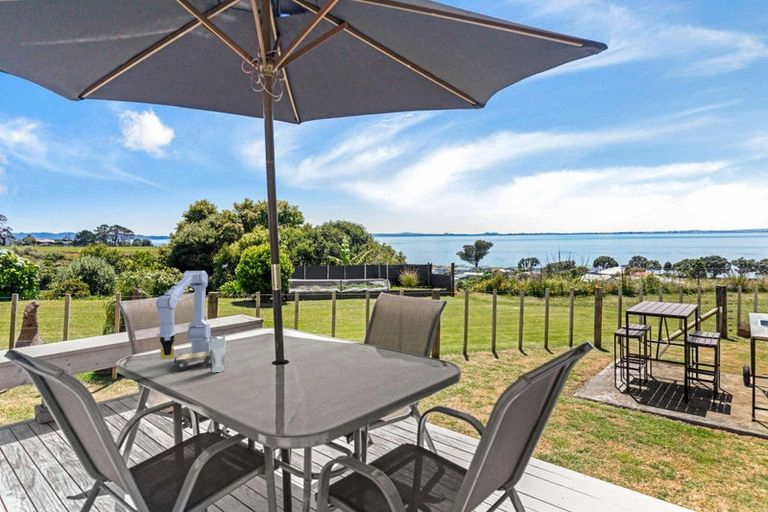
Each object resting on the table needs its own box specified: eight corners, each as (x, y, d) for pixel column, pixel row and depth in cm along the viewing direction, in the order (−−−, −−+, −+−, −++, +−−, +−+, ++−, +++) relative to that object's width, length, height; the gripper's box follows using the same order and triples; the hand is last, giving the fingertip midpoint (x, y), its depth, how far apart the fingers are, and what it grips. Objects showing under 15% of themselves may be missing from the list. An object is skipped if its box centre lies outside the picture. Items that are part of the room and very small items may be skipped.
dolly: (213, 360, 192) (213, 340, 192) (216, 366, 181) (216, 345, 181) (174, 365, 183) (174, 344, 183) (175, 372, 173) (174, 350, 173)
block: (173, 355, 175) (173, 345, 175) (173, 357, 172) (173, 347, 172) (160, 357, 173) (160, 347, 173) (160, 359, 169) (160, 349, 169)
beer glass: (205, 372, 172) (205, 338, 172) (219, 368, 178) (218, 335, 178) (216, 374, 169) (215, 339, 169) (229, 370, 175) (229, 336, 175)
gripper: (156, 321, 176) (157, 351, 177) (156, 326, 164) (156, 358, 164) (174, 320, 180) (174, 349, 180) (175, 324, 167) (175, 356, 167)
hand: (167, 353), depth 172 cm, fingers closed on block, 4 cm apart
